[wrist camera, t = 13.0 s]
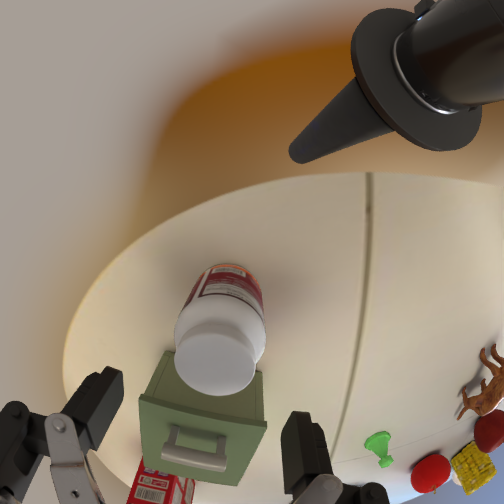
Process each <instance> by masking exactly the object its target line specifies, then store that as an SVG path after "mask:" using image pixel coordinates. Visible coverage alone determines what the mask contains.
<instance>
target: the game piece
mask: <svg viewBox="0 0 504 504" xmlns="http://www.w3.org/2000/svg"><path fill="white" fill-rule="evenodd" d="M390 438H391V436H390V434H389V433H387V432H386V431H384V432H380V433H376V434H374V435H373V436H371V437H370V438H368V439H367V440H366V443H365V448H366V449H368V450H372V451H373V452H374V453H375V454H376V455H377V456H379V457H380V458H381V460H380V461H379V462H378V463H379V465H380V466H381V468H384V467H388V466H389V465H390V464H391V463H392V462H393V461H394V460H393V458H392V457H391V455H389V456H387V453H388V441H389V440H390Z"/></svg>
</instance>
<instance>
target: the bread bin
mask: <svg viewBox="0 0 504 504" xmlns="http://www.w3.org/2000/svg"><path fill="white" fill-rule="evenodd" d="M174 356H175V353H171V352H168V351H165V352H164V354H163V356H162V358H161V360H160V362H159V364H158V366H157V368H156V370H155V372H154V374H153V376H152V378H151V380H150V382H149V384H148V387H147V389H146V391H145V393H144V394H145V395H148V396H151V397H154V398H157V399H161V400H164V401H168V402H171V403H175V404H179V405H183V406H187V407H191V408H195V409H199V410H204V411H208V412H213V413H218V414H223V415H229V416H235V417H241V418H247V419H254V420H262V421H264V404H263V381H262V372H257V371H255V374H254V377H253V379H252V380H251V382H250V383H249V384H248V385H247V386H246V387H245V388H244V389H242V390H241V391H239V392H236V393H234V394H230V395H223V396H215V395H208V394H205V393H202V392H199V391H197V390H195V389H193V388H191V387H190V386H189V385H187V384H186V383H185V382H184V381H183V380H182V379H181V377H180V376H179V374H178V373H177V371H176V368H175V363H174Z"/></svg>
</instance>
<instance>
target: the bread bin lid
mask: <svg viewBox="0 0 504 504" xmlns="http://www.w3.org/2000/svg"><path fill="white" fill-rule="evenodd" d="M139 418H140V432H141V443H142V453H143V461H144V466H145V467H148V468H151V469H154V470H158V471H161V472H165V473H168V474H172V475H176V476H180V477H185V478H189V479H194V480H199V481H204V482H210V483H216V484H222V485H229V486H237V485H238V483H239V482H240V480H241V478H242V476H243V474H244V473H245V471H246V469H247V467H248V465H249V463H250V461H251V459H252V457H253V455H254V453H255V451H256V449H257V447H258V445H259V443H260V441H261V439H262V437H263V435H264V433H265V431H266V429H267V421H262V420H254V419H247V418H241V417H235V416H229V415H223V414H218V413H213V412H208V411H204V410H199V409H195V408H191V407H187V406H183V405H179V404H175V403H171V402H168V401H164V400H161V399H157V398H154V397H151V396H148V395H145V394H141V395H140V397H139Z"/></svg>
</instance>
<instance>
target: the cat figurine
mask: <svg viewBox="0 0 504 504" xmlns="http://www.w3.org/2000/svg"><path fill="white" fill-rule="evenodd" d="M491 355H492V357H493V359H494V360H496V361H497V362H498V363H499V364H500V365H501V366H502V367H500V368H499V367H497V366H496V365H495V364H493V363H491V362H489V361H488V360H487V358H486V356H485V348H483V349H482V350H481V353H480V359H481V361H482V363H483V364H484V365H485V366H486V367H488V368H489V369H490V370H491V372H492V375H493V376H494V377H493V379H492V380H491V382H490V383H489V384H488V386H486V384H485V380H486V379H485V378H484V379H483V380H482V381H481V391H482V393H481V394H480V395H476V396H472V397H470V398H468V397H467V394H466V392H465V390H466V387H464V389H463V391H462V394H463V402H464V406H465V407H464V408H463V409H462V411H461V412H460V414H459V416H458V418H457V420H459V419H460V418H461V417H462V415H463V414H464V412H465V411H466V410H468V409H472V410H474V411H475V412H476V413H477V414H478V415H479V416H485V415H487V414H489V413H490V412H492V411H493V410H494V409H496V407H497V406H498V405H499V403H500V402H501V401H502V400H503V398H504V358H502V357H500V356H499V355H498V354H497V351H496V344H494V345H493V346H492V348H491Z"/></svg>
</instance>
